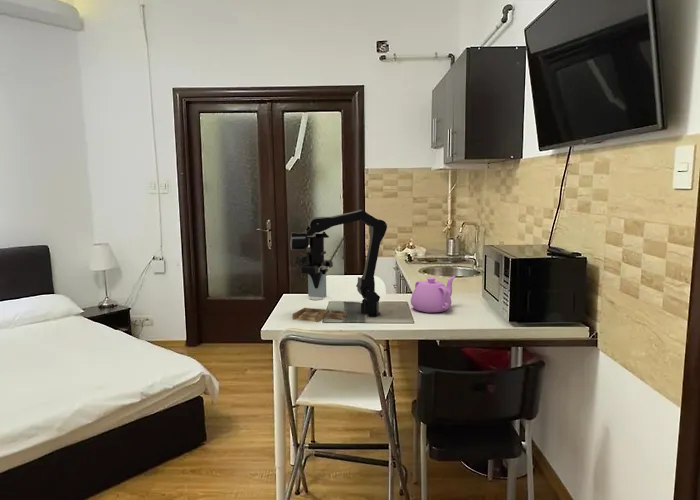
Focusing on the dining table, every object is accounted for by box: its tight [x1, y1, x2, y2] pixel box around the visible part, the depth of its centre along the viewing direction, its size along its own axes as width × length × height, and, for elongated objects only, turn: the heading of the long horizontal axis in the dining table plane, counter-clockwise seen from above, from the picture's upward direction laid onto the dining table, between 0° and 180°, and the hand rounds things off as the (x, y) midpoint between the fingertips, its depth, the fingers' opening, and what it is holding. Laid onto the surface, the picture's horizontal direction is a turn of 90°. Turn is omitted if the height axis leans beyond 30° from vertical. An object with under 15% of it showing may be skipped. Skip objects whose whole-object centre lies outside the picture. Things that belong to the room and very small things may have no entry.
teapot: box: [410, 275, 456, 314], centre depth 224 cm, size 22×22×14 cm
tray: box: [292, 307, 330, 323], centre depth 208 cm, size 11×11×3 cm
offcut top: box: [301, 312, 319, 318], centre depth 206 cm, size 6×4×1 cm
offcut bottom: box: [299, 316, 316, 320], centre depth 206 cm, size 7×5×1 cm
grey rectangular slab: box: [307, 273, 327, 299], centre depth 209 cm, size 7×2×9 cm, turn 69°
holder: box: [327, 309, 348, 321], centre depth 207 cm, size 6×5×3 cm
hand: (317, 287), depth 209 cm, fingers closed on grey rectangular slab, 2 cm apart
